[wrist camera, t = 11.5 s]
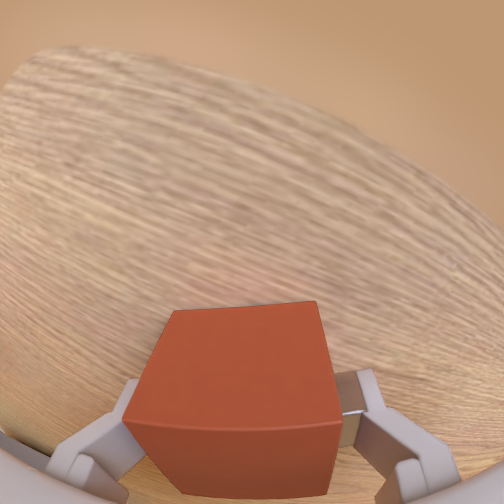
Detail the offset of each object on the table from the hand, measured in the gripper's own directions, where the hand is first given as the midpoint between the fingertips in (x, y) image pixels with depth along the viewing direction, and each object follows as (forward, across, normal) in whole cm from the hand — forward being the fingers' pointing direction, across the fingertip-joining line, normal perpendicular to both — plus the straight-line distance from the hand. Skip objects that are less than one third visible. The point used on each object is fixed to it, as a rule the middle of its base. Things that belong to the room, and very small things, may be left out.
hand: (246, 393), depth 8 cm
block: (+2, 0, 0) cm, 2 cm away
